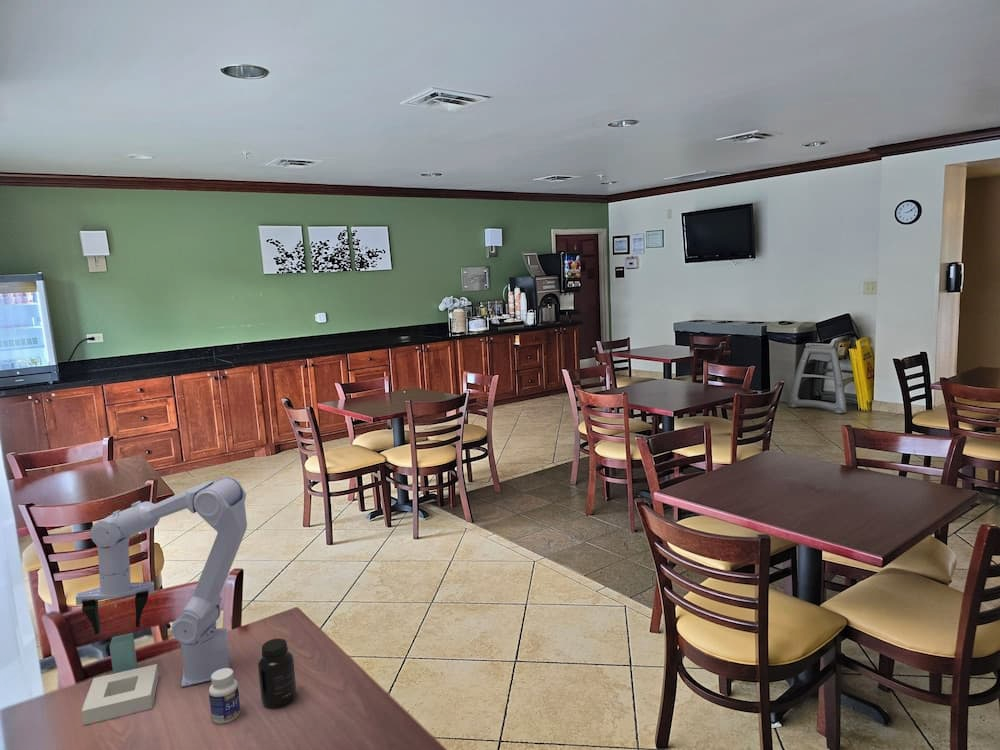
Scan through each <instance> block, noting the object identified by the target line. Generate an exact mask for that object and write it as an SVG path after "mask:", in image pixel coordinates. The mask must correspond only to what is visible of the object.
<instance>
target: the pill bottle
mask: <svg viewBox="0 0 1000 750" xmlns="http://www.w3.org/2000/svg"><path fill="white" fill-rule="evenodd" d="M210 682H211V685H210V686H209V688H208V698H209V707H210V708H209V709H210V717H211V721H212V722H213V723H214V724H220V725H221V724H227V723H230V722H232V721H234V720H236V719H237V718H238V717H239V715H240V714H241V703H240V693H239V683H238V681H237V680H236V679H235V675H234V670H233V669H232V668H231V667H230V668H223V669H220V670H217V671H215V672H214V673H213V674H212V675H211V680H210Z"/></svg>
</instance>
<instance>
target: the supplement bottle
mask: <svg viewBox="0 0 1000 750" xmlns="http://www.w3.org/2000/svg"><path fill="white" fill-rule="evenodd" d="M294 661H295V660H294V656H293V654H292V653H291V652H290V651H289V648H288V644H287V640H285V639H284V638H280V637H279V638H273V639H269V640H267V641H266V642H264V643H263V644H262V645H261V658H260V659H259V660H258V665H257V669H258V678H259V679H258V680H259V687H260V688H259V689H260V697H261V704H262V705H263V706H264V707H266V708H267V709H280V708H283V707H287V705H289V704H291V703H292V702H294V700H295V698H296V697H297V684H296V672H295V662H294Z"/></svg>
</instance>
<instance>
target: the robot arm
mask: <svg viewBox="0 0 1000 750" xmlns="http://www.w3.org/2000/svg"><path fill="white" fill-rule="evenodd" d="M246 498H247V493H246V491H245V490H244V487H243V486H242V485H241V483H240V481H238V479H236V478H235V477H231V476H223V477H221V478H219V479H218V480H216V479H215V480H209V481H207V482H203V483H201V484H198V485H195V486H192V487H190V488H188V489H185V490H183V491H181V492H179V493H177V494H174V495H172V496H170V497H168V498H165V499H163V500H160V501H159V502H156V503H153V502H151V501H143V502H142V501H141V500H138V501H136V502H133V503H131V507H128V508H126V509H123V510H120V509H118V510H116V511H114V512H112V514H110V515H108V516H107V517H105V518H103V519H100V520H99V521H97V522H95V524H93V525H92V526H91V528H90V531H89V533H90V538H91V541H92V542H93V543H94V544H95V545H96V546H97V558H98V559H97V561H98V572H99V575H98V576H99V577H98V578H99V587H97V588H93V589H89V590H85V591H80V592H77V593H76V595H75V605H76V606H81V605H82V607H81V610H82V613H83V614H84V615H85V616H86V617H87V619H88V620H89V622H90V623H91V626H92V628H93V632H94V635H95V636H96V635H99V634H100V631H101V625H100V624H101V623H100V617H99V601H104V600H111V599H118V598H122V597H129V596H134V598H135V599H134V606H135V628H140V626H141V617H142V614H143V611H144V608H145V606H146V604H147V601H148V599H149V595H152V594H154V593H155V582H154V581H146V582H145V581H144V582H141V581H139V582H132V581H131V565H130V564H131V563H130V547H129V545H130V544H129V543H130V537H132V536H135V535H137V534H140V533H142V532H144V531H147V530H150V529H153V528H155V527H157V526H158V524H159V522H160V519H161V518H164V517H167V516H169V515H172V514H176V513H177V512H180V511H183V510H186V509H187V510H188V511H189V512H190V513H192V514H196V513H197V514H198V515H199V516H200V517H201V518H202V519H203V520H204V521H205V522H206V523H207V524H208V525H209V526H210V527H211V528H213V530H215V531H216V532H217V534H216V536H215V539H214V541H213V544H212V545H211V546H212V547H211V550H210V551H209V554H208V556H207V558H206V562H205V564H204V566H203V570H202V572H201V574H200V576H199V579H198V581H197V583H196V587H195V589H194V592H193V594H192V597H191V598H190V600H189V601H188V602H187V604H186V605H185V607H184V608H183V609H182V612H181V614H180V615H179V617H177V618H176V619H175V620H174V621H173V622H172V626H171V632H172V636H173V637H174V639H175V640H176V641H177V642H178V643H179V645H180V646H181V647H180V648H181V656H182V657H181V658H182V666H183V670H182V671H183V672H182V677H181V678H182V679H181V687H182V688H185V687H189V686H193V685H197V684H202V683H205V682H209V681H210V682H211V675H212V674H213V673H214V672H215V671H217V670H220V669H223V668H230V669H231V662H232V656H231V655H232V654H231V652H230V647H229V646H230V645H229V638H228V637H229V636H228V629H226V628H222V629H220V628H219V629H218V628H217V621H218V620H219V618H220V616H221V603H222V600H223V598H222V596H221V594H222V590H223V587H224V585H225V583H226V580H227V579H228V575H229V573H230V570H231V569H232V566H233V563H234V560H235V558H236V555H237V553H238V551H239V549H240V546H241V543H242V541H243V538H244V536H245V534H246V532H247V531H246V530H247V528H248V522H247V521H248V520H247V515H246V513H247V512H246V503H245V502H246Z"/></svg>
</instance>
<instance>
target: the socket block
mask: <svg viewBox="0 0 1000 750" xmlns="http://www.w3.org/2000/svg"><path fill="white" fill-rule="evenodd" d="M158 677H160V675H159V669H158V664H157V663H156V664H155V663H154V664H151V665H147V666H143V667H137V669H132V670H128V671H123V672H119V673H114V674H113V673H110V674H106V675H101V676H98V677H97V676H96V677H93V679H92V682H91V684H90V687H89V689H88V692H87V694H86V698H85V701H84V703H83V705H82V709H81V712H80V713H81V718H82V725H83V726H87V725H90V724H93V723H99V722H102V721H103V722H104V721H107V720H111V719H115V718H118V717H119V718H120V717H124V716H127V715H131V714H132V715H133V714H136V713H139V712H144V711H148V710H152V709H153V707H154V702H155V695H156V692H157V687H158V681H159V678H158Z"/></svg>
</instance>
